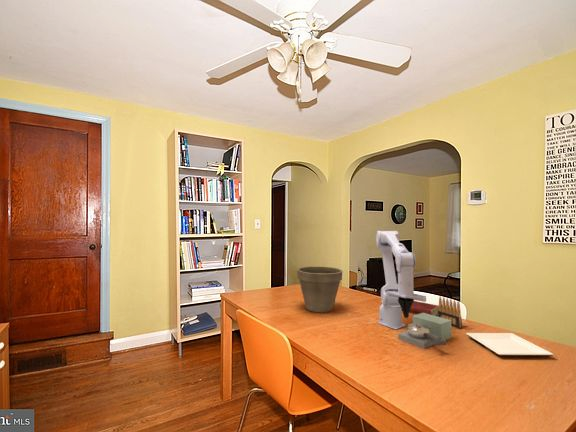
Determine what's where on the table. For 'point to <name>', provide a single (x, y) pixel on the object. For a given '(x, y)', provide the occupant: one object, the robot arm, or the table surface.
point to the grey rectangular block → (437, 326)
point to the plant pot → (319, 287)
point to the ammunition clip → (450, 312)
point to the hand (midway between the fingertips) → (406, 316)
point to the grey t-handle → (423, 333)
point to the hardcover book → (424, 308)
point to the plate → (508, 344)
